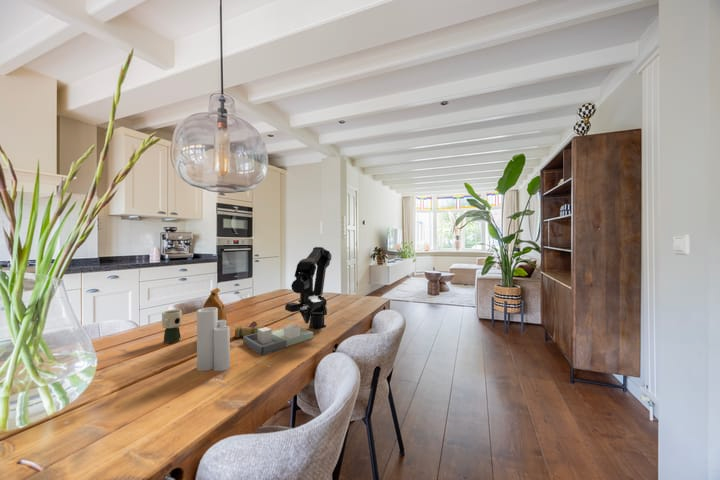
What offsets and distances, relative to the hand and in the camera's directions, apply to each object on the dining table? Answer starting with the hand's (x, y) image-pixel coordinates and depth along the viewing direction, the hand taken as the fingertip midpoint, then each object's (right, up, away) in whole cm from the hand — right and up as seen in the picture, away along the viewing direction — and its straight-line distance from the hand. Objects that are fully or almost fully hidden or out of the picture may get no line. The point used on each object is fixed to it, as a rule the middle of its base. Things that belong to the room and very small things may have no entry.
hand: (306, 323), depth 131 cm
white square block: (-16, -3, -5) cm, 17 cm away
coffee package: (-40, -7, -3) cm, 41 cm away
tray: (-16, -6, -10) cm, 20 cm away
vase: (-27, -7, -29) cm, 40 cm away
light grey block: (-5, -4, -5) cm, 8 cm away
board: (-7, -6, -1) cm, 9 cm away
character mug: (-57, -7, -5) cm, 58 cm away
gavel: (-29, -7, +10) cm, 31 cm away
